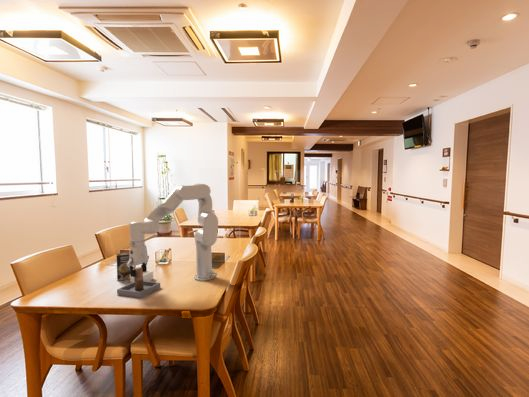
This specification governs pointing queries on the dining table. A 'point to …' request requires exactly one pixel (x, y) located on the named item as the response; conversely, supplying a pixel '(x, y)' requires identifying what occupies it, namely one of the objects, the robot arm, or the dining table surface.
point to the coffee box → (122, 266)
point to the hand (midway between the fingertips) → (138, 273)
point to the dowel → (139, 279)
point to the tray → (131, 292)
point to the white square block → (144, 276)
